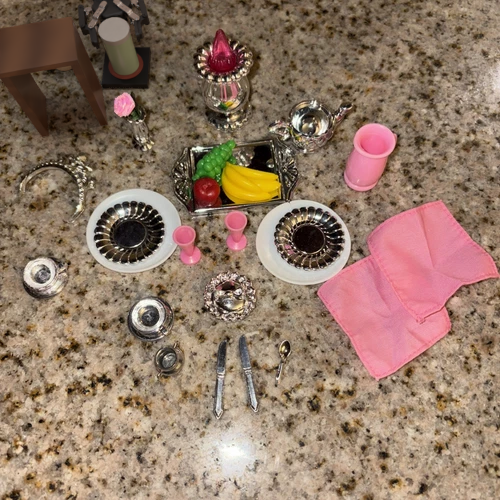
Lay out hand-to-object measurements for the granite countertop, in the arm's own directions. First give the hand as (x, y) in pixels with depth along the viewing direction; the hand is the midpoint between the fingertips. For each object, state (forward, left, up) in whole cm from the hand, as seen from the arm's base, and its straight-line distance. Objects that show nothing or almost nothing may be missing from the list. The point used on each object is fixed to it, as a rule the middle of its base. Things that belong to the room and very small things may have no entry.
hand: (118, 42), depth 101 cm
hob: (0, +1, -9) cm, 9 cm away
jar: (0, +1, -7) cm, 7 cm away
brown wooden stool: (-11, -10, -9) cm, 18 cm away
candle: (-14, +3, -9) cm, 17 cm away
